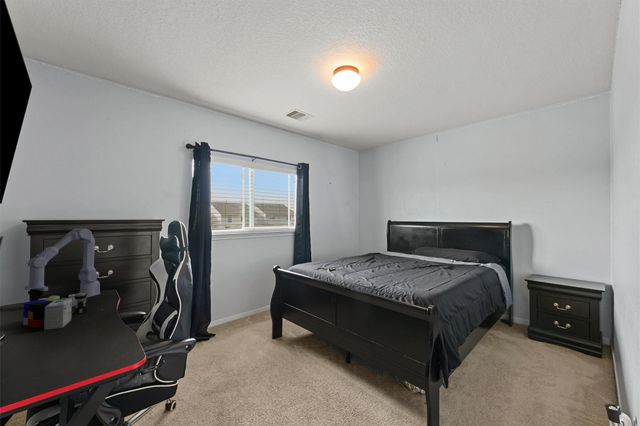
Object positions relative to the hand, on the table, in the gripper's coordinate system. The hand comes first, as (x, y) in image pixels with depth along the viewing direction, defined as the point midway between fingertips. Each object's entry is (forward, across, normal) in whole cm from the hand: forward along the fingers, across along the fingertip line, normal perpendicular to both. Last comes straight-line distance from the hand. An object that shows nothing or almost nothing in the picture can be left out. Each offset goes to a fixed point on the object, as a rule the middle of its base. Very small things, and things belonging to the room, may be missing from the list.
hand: (35, 303), depth 151 cm
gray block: (+1, +6, +5) cm, 8 cm away
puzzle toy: (+3, +30, -14) cm, 33 cm away
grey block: (+1, +13, +10) cm, 16 cm away
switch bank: (+2, +9, +5) cm, 10 cm away
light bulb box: (+3, +41, -15) cm, 44 cm away
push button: (+3, +32, 0) cm, 32 cm away
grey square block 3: (+1, +6, 0) cm, 6 cm away
